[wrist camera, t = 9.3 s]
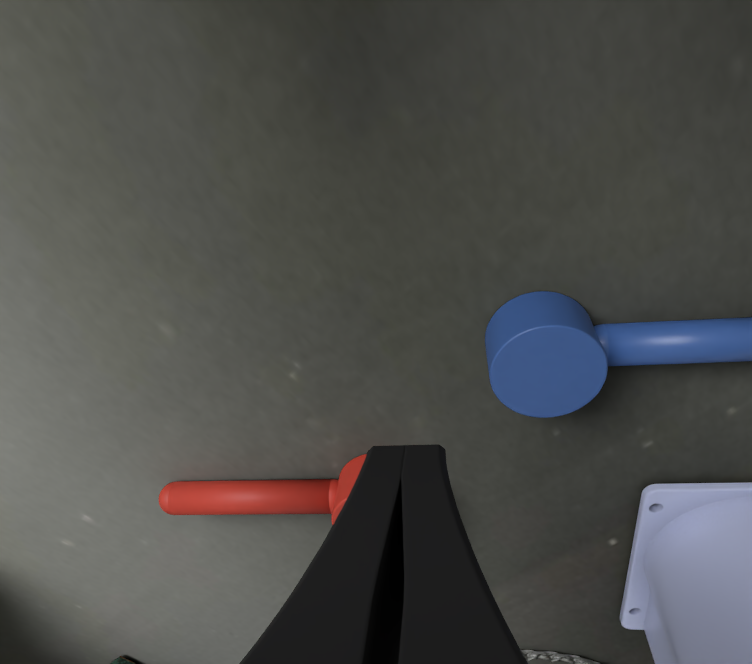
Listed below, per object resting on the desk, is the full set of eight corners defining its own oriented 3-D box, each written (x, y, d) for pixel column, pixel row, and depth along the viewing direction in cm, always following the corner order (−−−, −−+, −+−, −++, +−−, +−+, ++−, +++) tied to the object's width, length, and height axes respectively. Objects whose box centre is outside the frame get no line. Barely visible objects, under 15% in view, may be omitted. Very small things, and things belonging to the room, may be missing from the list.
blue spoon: (866, 272, 18) (916, 308, 16) (830, 368, 19) (871, 410, 18) (484, 293, 19) (489, 328, 17) (485, 379, 21) (489, 419, 19)
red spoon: (179, 513, 27) (160, 553, 25) (154, 456, 25) (131, 496, 23) (426, 511, 25) (425, 554, 23) (420, 450, 23) (418, 492, 21)
